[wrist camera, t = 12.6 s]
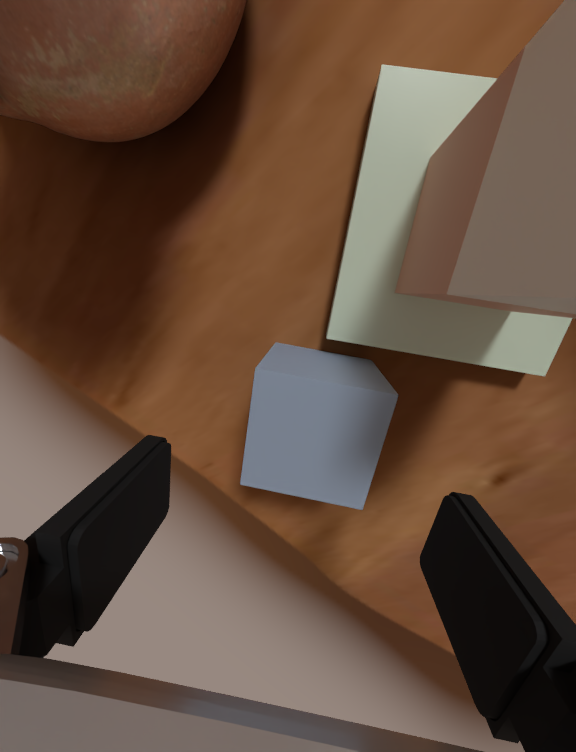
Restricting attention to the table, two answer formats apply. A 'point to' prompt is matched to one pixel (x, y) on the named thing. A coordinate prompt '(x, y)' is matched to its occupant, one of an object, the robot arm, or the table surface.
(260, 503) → the table surface
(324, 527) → the table surface
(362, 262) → the plate
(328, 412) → the slate brick
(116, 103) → the ceramic jug
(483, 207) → the cream brick
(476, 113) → the terracotta brick
